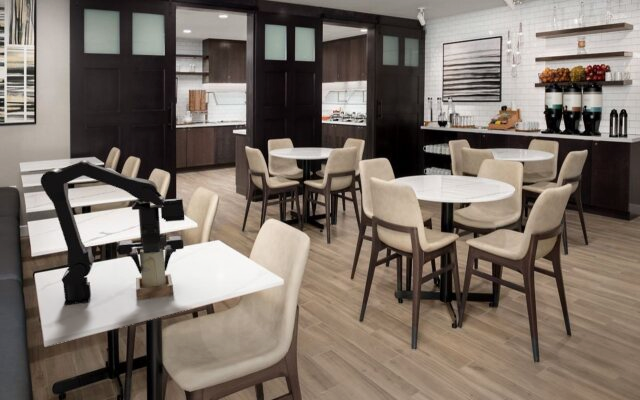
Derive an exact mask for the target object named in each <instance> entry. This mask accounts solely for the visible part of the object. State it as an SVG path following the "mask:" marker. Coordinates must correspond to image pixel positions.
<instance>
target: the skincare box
mask: <svg viewBox="0 0 640 400" xmlns="http://www.w3.org/2000/svg"><path fill="white" fill-rule="evenodd" d="M138 253H139V261H140V266H141V274H140V276H141V277H142V288H144V287H152V286H161V285H166V279H165V275H166V271H165V265H164V258H165V250H164V249H161V248H160V252H157V253H155V252H151V253H144V252H143V249H140V250H139V251H138Z"/></svg>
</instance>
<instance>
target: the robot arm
mask: <svg viewBox="0 0 640 400" xmlns="http://www.w3.org/2000/svg"><path fill="white" fill-rule="evenodd" d="M82 177H86V178H89V179H92V180H95V181H97V182H101V183H104V184H106V185H109V186H112V187H114V188H117V189H120V190H122V191H124V192H126V193H127V194H129V195H130V196H133V197H134V198H136V199H137V200H136V201H135V202H134V204H132V206H131V210H137V211H138V219H139V220H138V221H139V232H140V242H135V243H134V242H133V240H132V239H129V240H120V241H119V242H118V243H117V255H121V256H122V255H124V256H125V255H126V257H130V258H131V260H133V262H134V264H135V265H136V268H137V271H138V273H139V274H140V275H141V264H140V256H139V251H138V250H143V252H144V253H151V252H155V253H157V252H160V249H161V248H164V265H165V272H166V271H167V268H168V265H169V262H170V259H171V256H172V254H174V253H176V252H177V250H184V249H185V248H184V247H185V246H184V240H183V237H182V236H181V235H176V236H174V235H173V236H168V239H167V234H161V225H160V214H161V219H163V221H165V222H180V221H185V209H184V204H183V202H184V200H183V197H181V198H179V197H178V198H172V199H165V198H164V196H163V195H162V193H160V192H159V191H158V185H157V184H156V183H155V181H152V180H150V179H146V178H145V179H144V178H139V177H130V176H127V175H125V174H121V173H119V172H117V171H113V170H111V169H108V168H105V167H103V166H100V165H97V164H95V163H92V162H90V161H89V160H84V159H83V160H80V161H79V162H77V163H73V164H71V165H67V166H66V167H63V168H58V167H54V168H51V169H48V170H47V171H45V173H44V174H42V176H41V178H40V184H41V187H42V189H43V191H44V193H45V194H46V196H47V197H48V199H49V200H50V201H51V202H52V205H53V207H54V210H55V213H56V216H57V219H58V222H59V225H60V229H61V231H62V235H63V238H64V241H65V245H66V247H67V263H68V264H67V265H68V268H67V269H66V270H65V272H64V274H63V276H62V278H61V281H62V285H63V293H64V294H63V295H64V302H63V303H64V306H65V305H67V306H68V305H74V304H80V303H81V304H82V303H88V302H90V301H89V300H90V298H91V296H92V290H91V282H90V281H88V275H89V274H90V272H91V270H92V267H93V264H94V261H95V257H94V255H93V252H92V247H91V246H87V247H86V246H85V244H84V243H83V241H82V238H81V235H80V231H79V228H78V224H77V221H76V218H75V215H74V212H73V208H72V206H71V203H70V199H69V183H70V182H72V181H73V180H76V179H78V178H82ZM159 210H160V211H159Z"/></svg>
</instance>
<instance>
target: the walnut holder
mask: <svg viewBox="0 0 640 400" xmlns="http://www.w3.org/2000/svg"><path fill="white" fill-rule="evenodd" d="M165 279H166V285H161V286H152V287H144V288H142V276H141V277H136V278H135V290H136V291H135V292H136V301H139V300H140V301H141V300H149V299H157V298H165V297H173V296H174V285H173V280H172V275H171V273H168V274H166V273H165Z"/></svg>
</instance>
